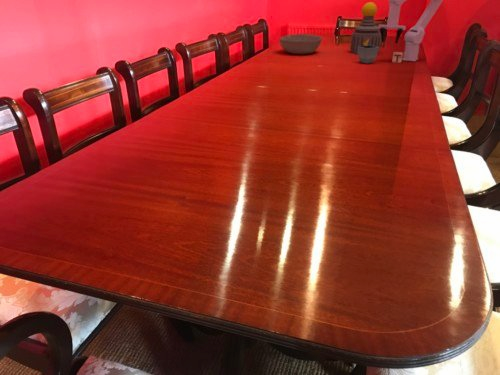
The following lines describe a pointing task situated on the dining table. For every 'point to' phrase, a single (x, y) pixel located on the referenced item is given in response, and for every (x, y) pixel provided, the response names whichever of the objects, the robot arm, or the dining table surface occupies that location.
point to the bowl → (300, 43)
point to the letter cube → (397, 57)
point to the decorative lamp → (366, 30)
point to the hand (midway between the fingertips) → (389, 42)
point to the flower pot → (367, 53)
